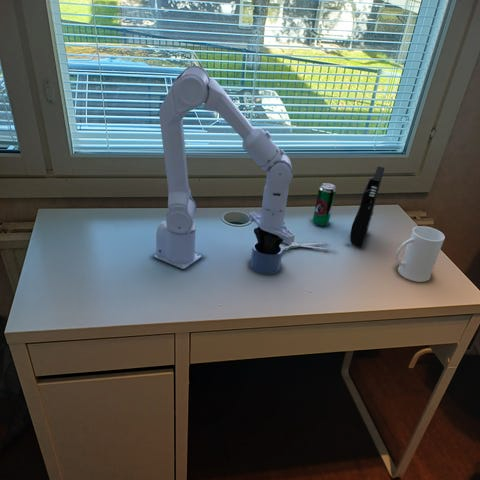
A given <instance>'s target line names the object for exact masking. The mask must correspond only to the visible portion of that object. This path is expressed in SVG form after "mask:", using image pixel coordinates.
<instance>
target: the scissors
mask: <svg viewBox="0 0 480 480" xmlns="http://www.w3.org/2000/svg"><path fill="white" fill-rule="evenodd" d="M282 243H284V244H286V243H285V240H283V242H282ZM314 245H324V242H303V243H301V242H295V241H294V242H293V243H290V244H287V246H284V247H283V246H281V247H282V248H283V251H282V252H284V251H288V250H290V249H296V248H307V249H308V248H309V249H317V250H325V251H326V250H327V251H332V249H330V248H325V247H319V246H314Z"/></svg>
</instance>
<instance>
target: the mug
mask: <svg viewBox="0 0 480 480" xmlns="http://www.w3.org/2000/svg"><path fill="white" fill-rule="evenodd" d="M445 239H446V237H445V234H444V233H443V232H442V231H440V230H438V229H436V228H434V227H430V226H424V225H419V226H414V227H413V228H412V229H411V233H410V236H409V239H407V240H405V241H404V242H403V243H401V244H400V246H399V247H398V248H397V250H396V252H395V260H396V263H397V264H398V267H397V272H398V274H400V275H401V276H402V278H404V279H407V280H409V281H412V282H416V283H423V282H427V281H429V280H430V279H431V276H432V271H433V269H434V268H435V264H436V262H437V259H438V256H439V254H440V251H441V249H442V246H443V244H444V242H445ZM405 246H406V248H405V250H404V252H403V256H402V259H401V260H400V259H399V255H400V252H401V250H402V249H403V248H404V247H405Z"/></svg>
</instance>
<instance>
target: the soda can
mask: <svg viewBox="0 0 480 480" xmlns="http://www.w3.org/2000/svg"><path fill="white" fill-rule="evenodd" d="M336 188H337V187H336V185H334V184H332V183H328V182H323V183H321V184H320V186H319V187H318V193H317V197H316V202H315V207H314V211H313V217H312V222H313V224H314V225H316V226H319V227H326V226H328V225H329V223H330V220H331V215H332V211H333V206H334V203H335V199H336V194H337V190H336Z"/></svg>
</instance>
